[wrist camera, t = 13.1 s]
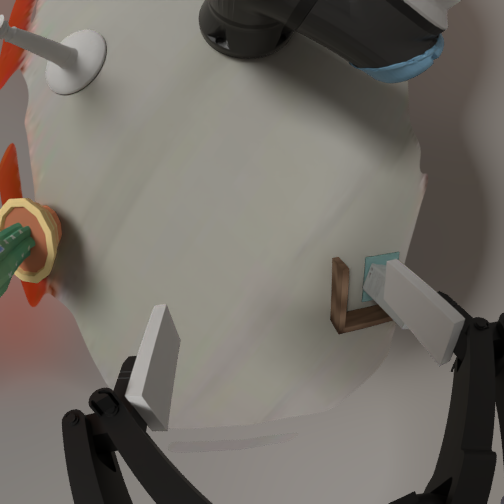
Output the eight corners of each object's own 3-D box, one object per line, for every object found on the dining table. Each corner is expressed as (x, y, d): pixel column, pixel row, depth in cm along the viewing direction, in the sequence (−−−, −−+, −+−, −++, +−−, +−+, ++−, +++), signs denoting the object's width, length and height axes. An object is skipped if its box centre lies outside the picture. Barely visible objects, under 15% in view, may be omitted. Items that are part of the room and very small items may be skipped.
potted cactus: (86, 257, 44) (11, 340, 21) (33, 270, 44) (-37, 339, 21) (63, 177, 38) (-40, 215, 15) (10, 201, 38) (-77, 245, 15)
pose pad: (365, 257, 50) (366, 258, 50) (398, 251, 50) (399, 252, 50) (361, 301, 54) (362, 302, 53) (393, 294, 54) (393, 294, 54)
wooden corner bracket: (332, 257, 49) (342, 269, 45) (402, 246, 50) (416, 255, 45) (330, 319, 54) (338, 334, 50) (394, 304, 55) (405, 316, 51)
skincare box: (361, 288, 52) (398, 331, 38) (371, 260, 50) (413, 299, 36) (392, 291, 53) (430, 331, 40) (402, 266, 51) (445, 301, 38)
